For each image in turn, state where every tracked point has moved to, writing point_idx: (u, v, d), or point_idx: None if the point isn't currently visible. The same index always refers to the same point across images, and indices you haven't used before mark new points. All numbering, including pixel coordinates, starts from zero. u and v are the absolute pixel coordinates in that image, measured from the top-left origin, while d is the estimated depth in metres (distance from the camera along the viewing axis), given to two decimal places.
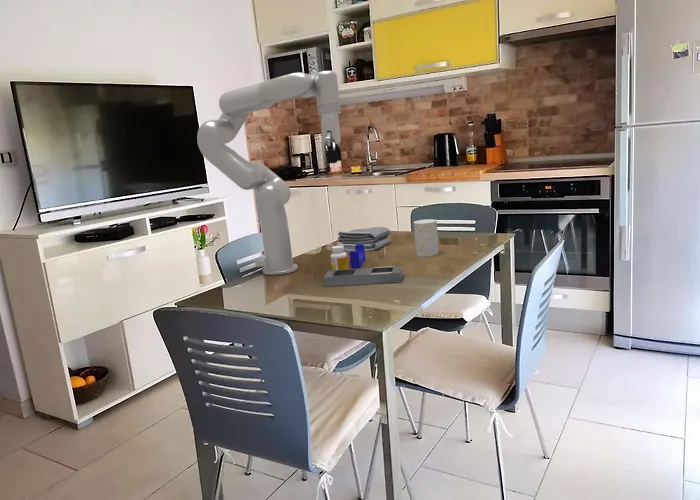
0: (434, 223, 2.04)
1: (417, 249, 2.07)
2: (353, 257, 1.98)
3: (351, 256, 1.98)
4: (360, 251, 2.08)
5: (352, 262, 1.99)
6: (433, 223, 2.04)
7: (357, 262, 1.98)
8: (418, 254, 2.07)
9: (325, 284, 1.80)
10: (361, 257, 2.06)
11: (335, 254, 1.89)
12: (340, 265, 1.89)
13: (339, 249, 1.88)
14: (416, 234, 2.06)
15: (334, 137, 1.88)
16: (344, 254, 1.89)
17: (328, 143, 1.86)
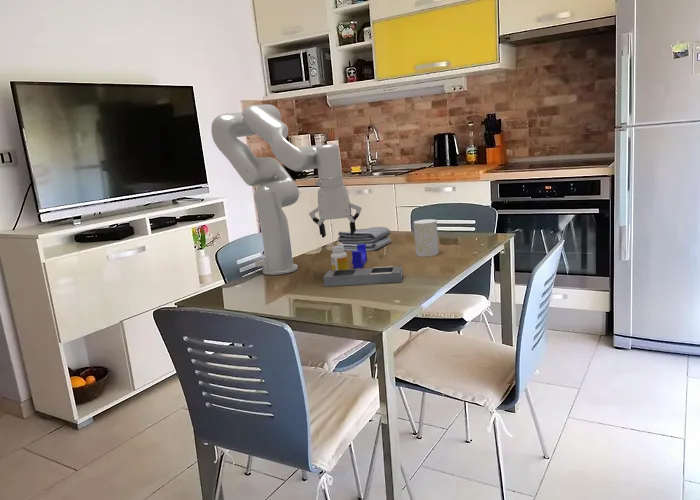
0: (434, 223, 2.04)
1: (417, 249, 2.07)
2: (356, 256, 1.98)
3: (353, 256, 1.98)
4: (362, 251, 2.08)
5: (354, 262, 1.99)
6: (433, 223, 2.04)
7: (359, 262, 1.98)
8: (418, 254, 2.07)
9: (325, 284, 1.80)
10: (363, 257, 2.06)
11: (335, 254, 1.89)
12: (340, 265, 1.89)
13: (339, 249, 1.88)
14: (416, 234, 2.06)
15: (350, 208, 1.88)
16: (344, 254, 1.89)
17: (359, 213, 1.86)
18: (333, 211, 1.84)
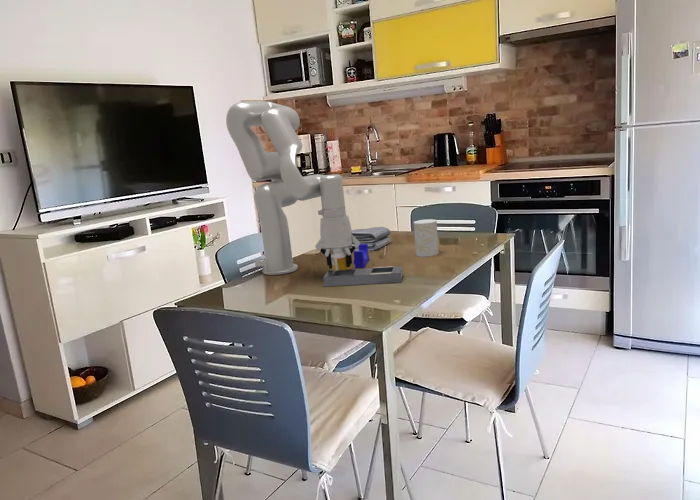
0: (434, 223, 2.04)
1: (417, 249, 2.07)
2: (358, 256, 1.98)
3: (355, 256, 1.98)
4: (364, 251, 2.07)
5: (356, 262, 1.98)
6: (433, 223, 2.04)
7: (361, 262, 1.98)
8: (418, 254, 2.07)
9: (325, 284, 1.80)
10: (365, 257, 2.06)
11: (335, 254, 1.89)
12: (340, 265, 1.89)
13: (339, 249, 1.88)
14: (416, 234, 2.06)
15: None
16: (344, 254, 1.89)
17: (356, 247, 1.89)
18: (335, 241, 1.87)
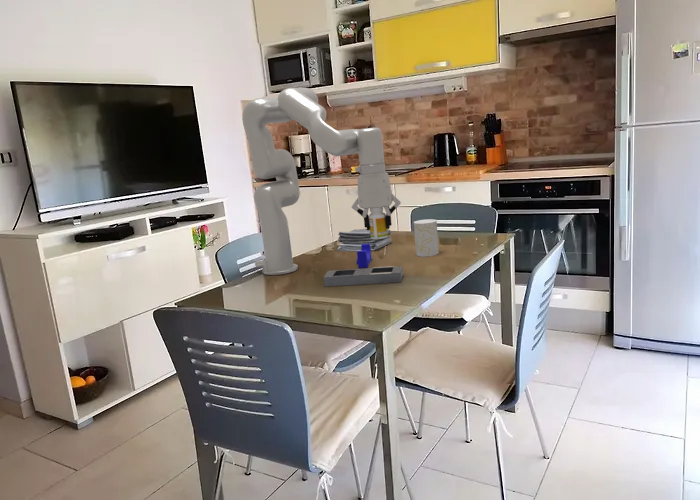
0: (434, 223, 2.04)
1: (417, 249, 2.07)
2: (361, 256, 1.98)
3: (358, 256, 1.98)
4: (366, 251, 2.07)
5: (359, 262, 1.98)
6: (433, 223, 2.04)
7: (364, 262, 1.98)
8: (418, 254, 2.07)
9: (325, 284, 1.80)
10: (367, 257, 2.06)
11: (374, 214, 1.74)
12: (380, 226, 1.74)
13: (378, 209, 1.74)
14: (416, 234, 2.06)
15: None
16: (383, 214, 1.75)
17: (396, 207, 1.75)
18: (374, 199, 1.73)
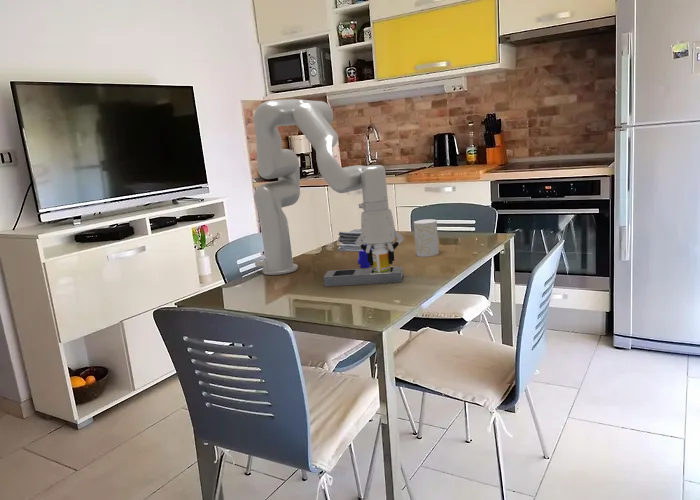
0: (434, 223, 2.04)
1: (417, 249, 2.07)
2: (363, 256, 1.98)
3: (360, 256, 1.98)
4: None
5: (361, 262, 1.98)
6: (433, 223, 2.04)
7: (366, 261, 1.98)
8: (418, 254, 2.07)
9: (325, 284, 1.80)
10: None
11: (377, 250, 1.77)
12: (383, 261, 1.77)
13: (381, 245, 1.76)
14: (416, 234, 2.06)
15: None
16: (386, 250, 1.77)
17: (399, 243, 1.77)
18: (377, 236, 1.75)
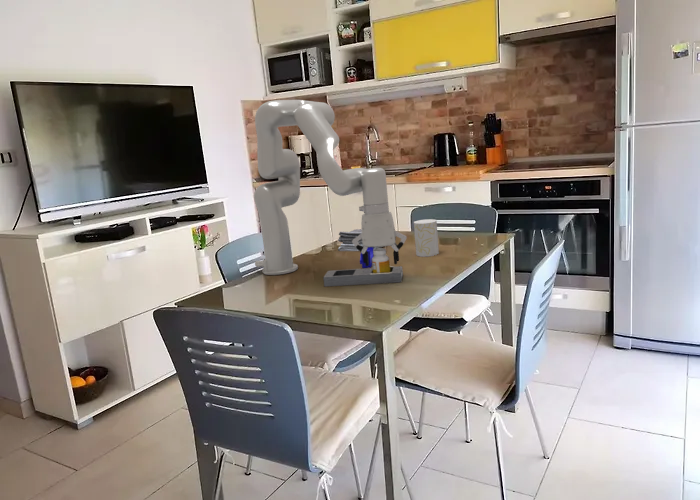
0: (434, 223, 2.04)
1: (417, 249, 2.07)
2: None
3: (362, 255, 1.98)
4: (369, 250, 2.07)
5: None
6: (433, 223, 2.04)
7: None
8: (418, 254, 2.07)
9: (325, 284, 1.80)
10: (370, 256, 2.06)
11: (377, 258, 1.77)
12: (383, 269, 1.77)
13: (381, 252, 1.77)
14: (416, 234, 2.06)
15: None
16: (386, 258, 1.78)
17: None
18: (378, 239, 1.75)
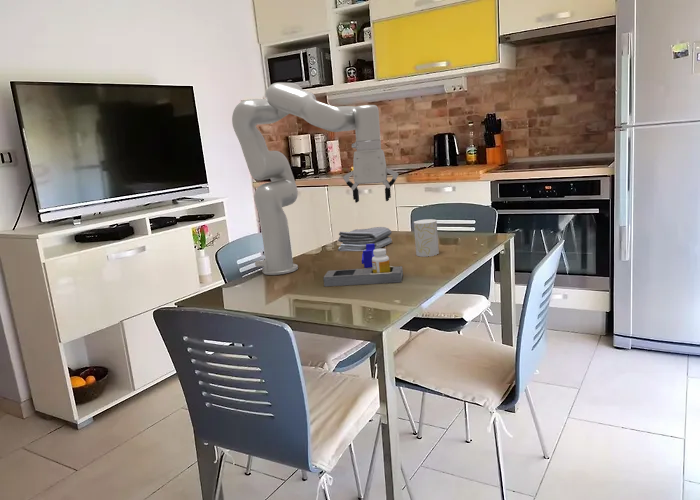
0: (434, 223, 2.04)
1: (417, 249, 2.07)
2: (367, 256, 1.97)
3: (364, 255, 1.98)
4: None
5: (365, 261, 1.98)
6: (433, 223, 2.04)
7: (370, 261, 1.98)
8: (418, 254, 2.07)
9: (325, 284, 1.80)
10: (372, 256, 2.06)
11: (377, 258, 1.77)
12: (383, 269, 1.77)
13: (381, 252, 1.77)
14: (416, 234, 2.06)
15: None
16: (386, 258, 1.78)
17: None
18: (369, 175, 1.77)
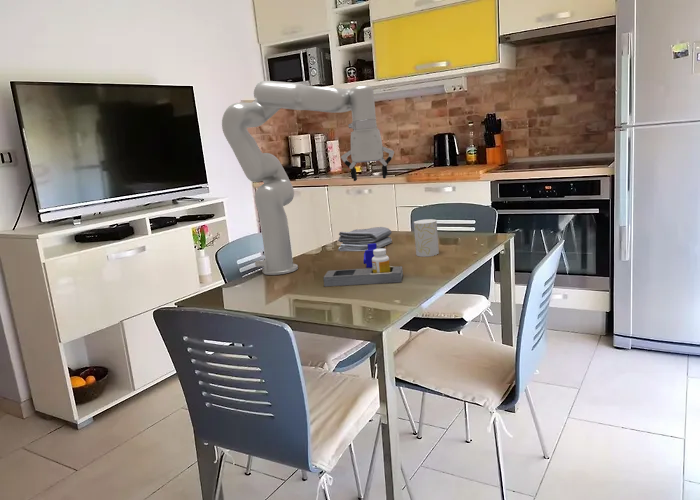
0: (434, 223, 2.04)
1: (417, 249, 2.07)
2: (369, 255, 1.97)
3: (366, 255, 1.97)
4: None
5: (367, 261, 1.98)
6: (433, 223, 2.04)
7: None
8: (418, 254, 2.07)
9: (325, 284, 1.80)
10: None
11: (377, 258, 1.77)
12: (383, 269, 1.77)
13: (381, 252, 1.77)
14: (416, 234, 2.06)
15: None
16: (386, 258, 1.78)
17: None
18: (366, 154, 1.84)
